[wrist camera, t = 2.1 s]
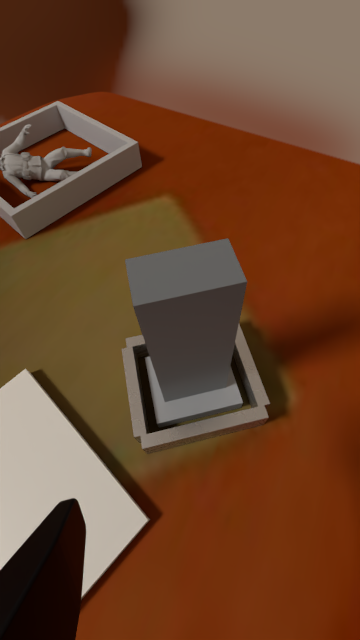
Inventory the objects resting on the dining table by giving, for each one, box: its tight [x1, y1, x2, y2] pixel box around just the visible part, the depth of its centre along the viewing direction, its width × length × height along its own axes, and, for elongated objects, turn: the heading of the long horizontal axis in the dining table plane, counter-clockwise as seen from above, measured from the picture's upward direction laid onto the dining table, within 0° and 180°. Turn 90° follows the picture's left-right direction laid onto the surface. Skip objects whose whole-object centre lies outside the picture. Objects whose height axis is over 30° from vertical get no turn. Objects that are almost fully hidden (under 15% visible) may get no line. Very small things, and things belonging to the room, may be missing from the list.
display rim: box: [0, 101, 142, 239], centre depth 38 cm, size 17×17×3 cm
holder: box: [122, 324, 270, 454], centre depth 22 cm, size 8×9×2 cm
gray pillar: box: [125, 239, 247, 428], centre depth 18 cm, size 5×6×13 cm
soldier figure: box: [0, 124, 91, 198], centre depth 37 cm, size 8×5×12 cm
